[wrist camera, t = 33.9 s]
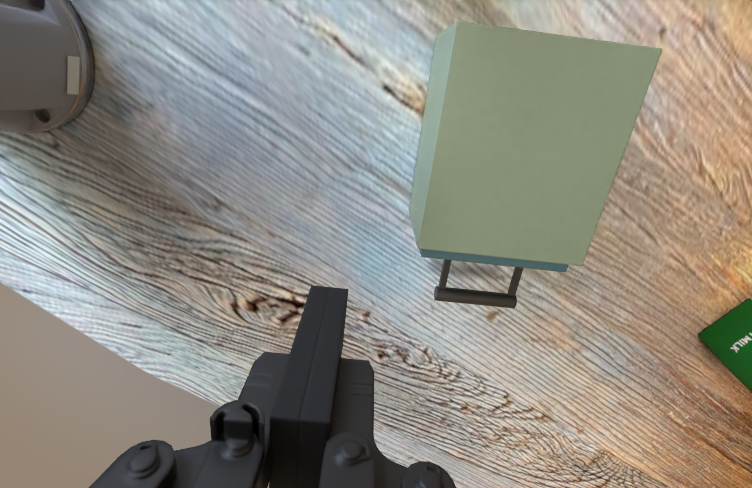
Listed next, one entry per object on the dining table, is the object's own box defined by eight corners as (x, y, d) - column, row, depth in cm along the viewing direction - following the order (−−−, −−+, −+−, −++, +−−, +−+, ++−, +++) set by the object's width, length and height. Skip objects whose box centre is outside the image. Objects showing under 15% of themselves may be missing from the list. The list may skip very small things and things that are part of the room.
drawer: (518, 281, 44) (547, 325, 37) (405, 270, 44) (411, 311, 36) (578, 82, 36) (632, 84, 28) (439, 65, 35) (456, 62, 28)
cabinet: (536, 223, 42) (582, 266, 33) (408, 209, 42) (417, 248, 32) (587, 55, 36) (663, 48, 26) (435, 35, 35) (457, 21, 26)
